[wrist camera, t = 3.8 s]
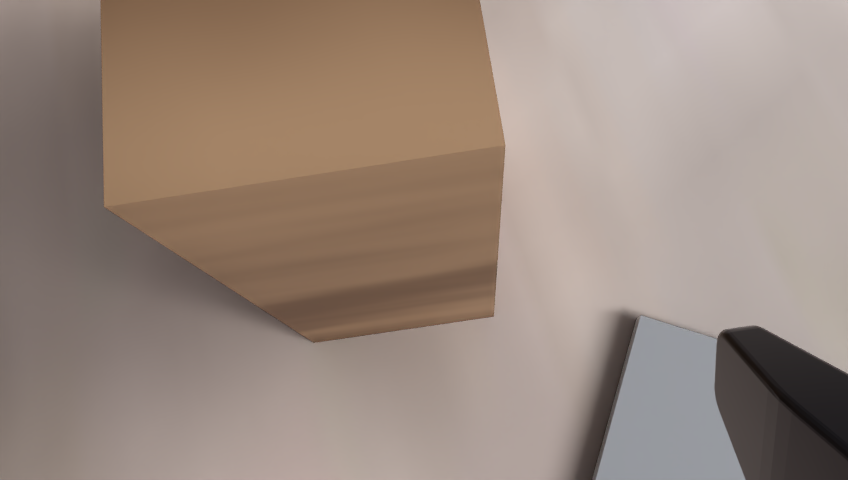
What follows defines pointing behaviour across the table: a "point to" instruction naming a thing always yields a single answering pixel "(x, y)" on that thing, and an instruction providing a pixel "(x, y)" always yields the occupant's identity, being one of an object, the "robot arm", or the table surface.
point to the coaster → (667, 411)
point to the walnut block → (312, 153)
